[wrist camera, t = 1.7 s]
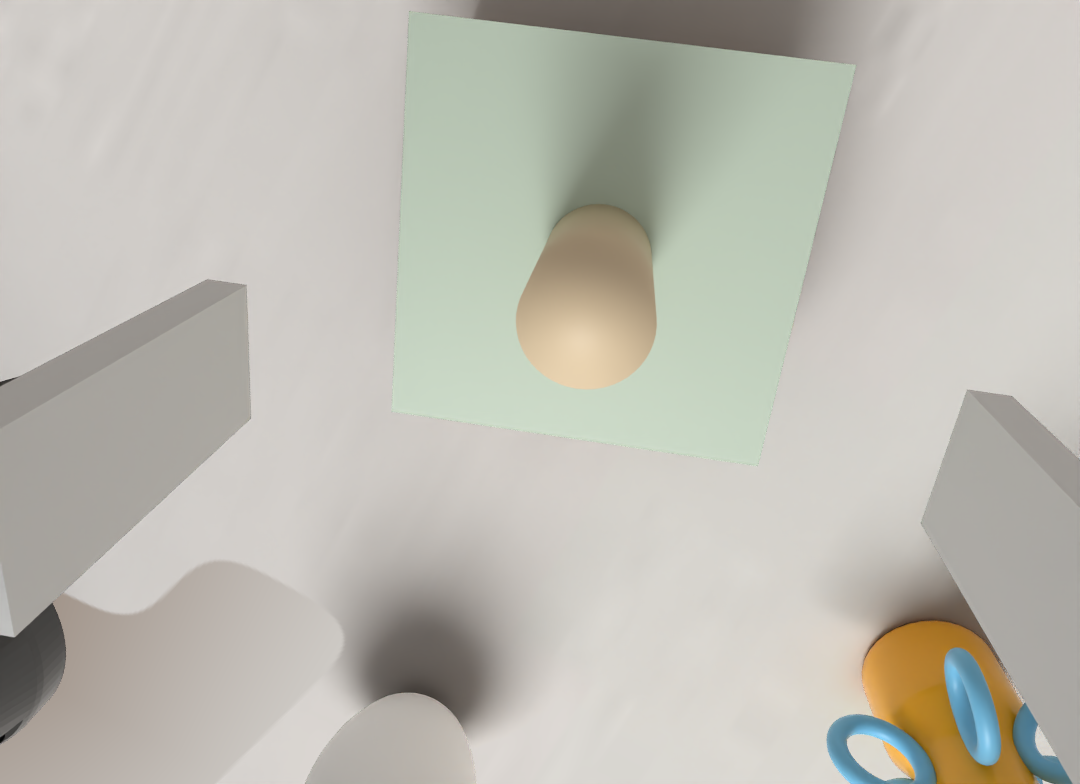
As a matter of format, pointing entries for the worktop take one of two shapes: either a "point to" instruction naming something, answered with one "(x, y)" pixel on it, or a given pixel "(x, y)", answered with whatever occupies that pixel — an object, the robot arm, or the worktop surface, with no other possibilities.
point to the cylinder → (943, 713)
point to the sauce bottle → (397, 746)
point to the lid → (605, 232)
